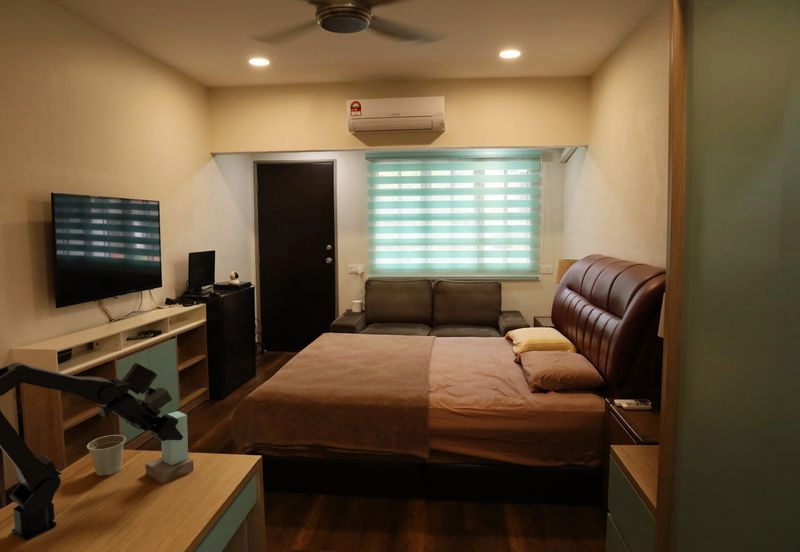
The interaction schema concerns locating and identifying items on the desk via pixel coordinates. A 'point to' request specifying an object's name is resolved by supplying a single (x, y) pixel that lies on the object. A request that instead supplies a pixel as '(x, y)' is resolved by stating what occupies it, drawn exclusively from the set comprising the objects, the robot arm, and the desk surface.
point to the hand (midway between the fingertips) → (173, 434)
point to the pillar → (176, 442)
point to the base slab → (168, 469)
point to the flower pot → (107, 454)
